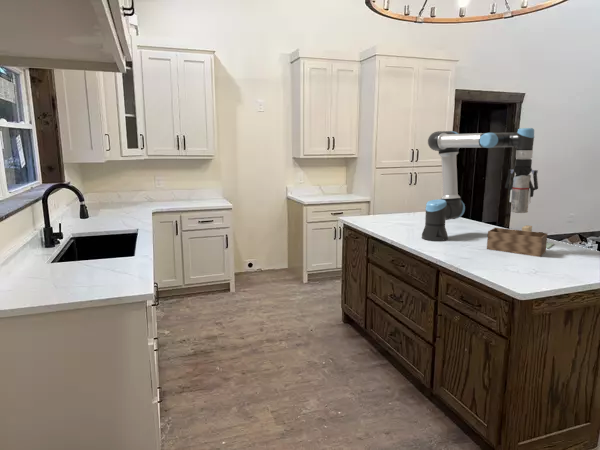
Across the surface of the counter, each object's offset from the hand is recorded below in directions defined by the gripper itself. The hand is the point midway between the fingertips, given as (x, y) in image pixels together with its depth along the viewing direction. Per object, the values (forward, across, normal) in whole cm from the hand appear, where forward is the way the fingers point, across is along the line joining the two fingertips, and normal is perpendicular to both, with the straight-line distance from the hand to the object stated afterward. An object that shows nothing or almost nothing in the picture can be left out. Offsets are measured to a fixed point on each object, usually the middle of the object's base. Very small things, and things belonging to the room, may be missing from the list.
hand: (519, 202), depth 217 cm
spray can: (+5, 0, 0) cm, 5 cm away
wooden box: (+26, 0, 0) cm, 26 cm away
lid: (+27, 0, +21) cm, 34 cm away
